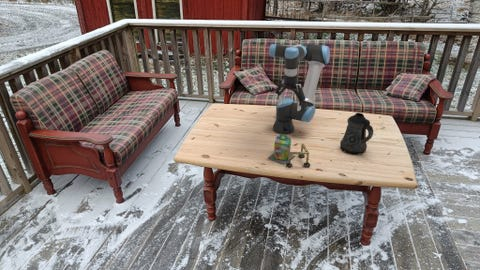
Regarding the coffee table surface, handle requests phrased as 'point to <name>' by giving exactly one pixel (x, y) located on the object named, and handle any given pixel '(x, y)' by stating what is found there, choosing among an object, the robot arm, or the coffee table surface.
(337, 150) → the coffee table surface
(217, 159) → the coffee table surface
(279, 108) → the robot arm
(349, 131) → the beer stein
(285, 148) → the chalk box
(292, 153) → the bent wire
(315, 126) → the coffee table surface
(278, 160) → the slate pad
